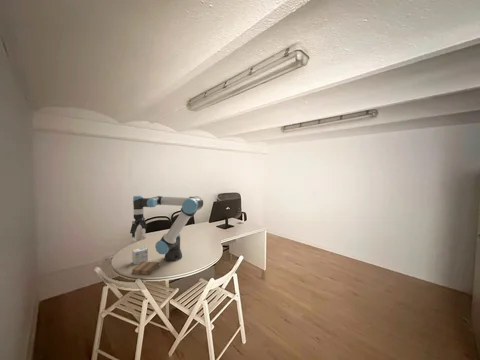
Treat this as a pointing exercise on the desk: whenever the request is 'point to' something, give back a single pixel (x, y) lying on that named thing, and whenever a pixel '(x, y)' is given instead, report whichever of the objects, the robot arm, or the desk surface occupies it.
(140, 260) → the light bulb box
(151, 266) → the block
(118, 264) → the desk surface
